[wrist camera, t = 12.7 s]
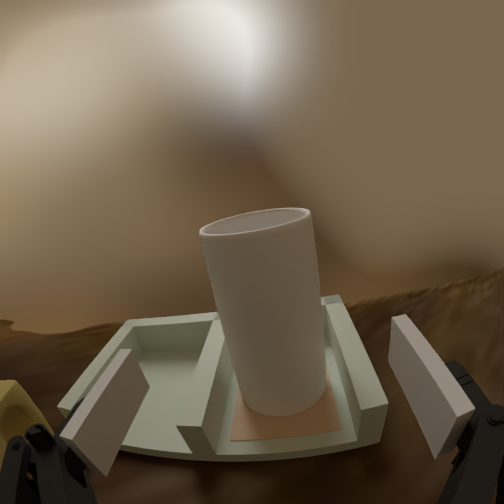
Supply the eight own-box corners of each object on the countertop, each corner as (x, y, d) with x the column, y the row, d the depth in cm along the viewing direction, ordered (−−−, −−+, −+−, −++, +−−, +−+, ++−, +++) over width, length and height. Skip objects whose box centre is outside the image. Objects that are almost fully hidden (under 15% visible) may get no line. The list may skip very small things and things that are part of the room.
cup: (224, 390, 26) (179, 232, 21) (282, 350, 30) (257, 208, 26) (284, 431, 19) (248, 238, 15) (343, 376, 24) (332, 207, 20)
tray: (379, 442, 17) (389, 397, 15) (82, 440, 20) (53, 401, 18) (340, 330, 34) (338, 289, 32) (140, 350, 37) (126, 316, 36)
